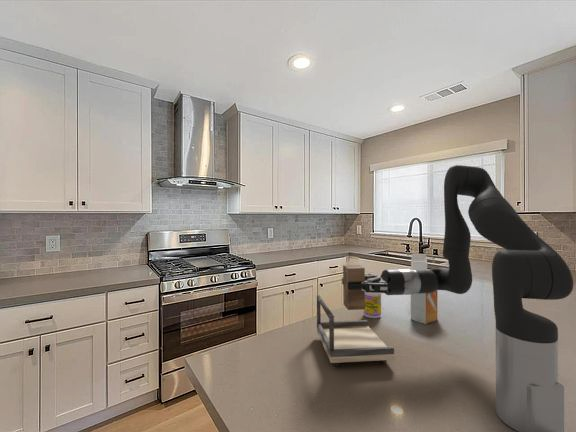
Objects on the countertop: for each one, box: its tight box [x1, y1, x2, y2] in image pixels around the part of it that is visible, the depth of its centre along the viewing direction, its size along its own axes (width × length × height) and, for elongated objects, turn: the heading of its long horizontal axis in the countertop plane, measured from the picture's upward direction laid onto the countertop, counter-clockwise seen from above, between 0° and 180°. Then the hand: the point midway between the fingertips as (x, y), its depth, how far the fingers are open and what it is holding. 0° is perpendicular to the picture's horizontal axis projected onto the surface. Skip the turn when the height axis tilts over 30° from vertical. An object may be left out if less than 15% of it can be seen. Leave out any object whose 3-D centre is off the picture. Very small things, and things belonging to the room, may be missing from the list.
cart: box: [316, 294, 395, 367], centre depth 84 cm, size 20×17×14 cm
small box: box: [410, 290, 438, 325], centre depth 107 cm, size 8×6×13 cm
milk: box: [410, 253, 428, 270], centre depth 129 cm, size 6×6×22 cm
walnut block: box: [342, 264, 366, 311], centre depth 84 cm, size 5×5×12 cm
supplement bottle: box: [363, 292, 382, 319], centre depth 112 cm, size 7×7×13 cm
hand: (345, 283), depth 84 cm, fingers closed on walnut block, 5 cm apart
